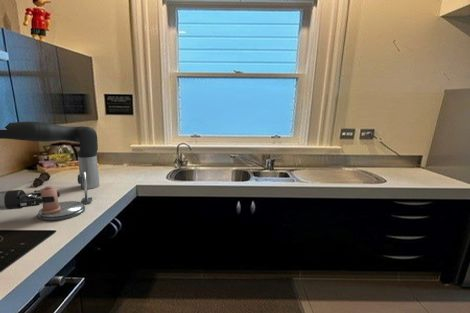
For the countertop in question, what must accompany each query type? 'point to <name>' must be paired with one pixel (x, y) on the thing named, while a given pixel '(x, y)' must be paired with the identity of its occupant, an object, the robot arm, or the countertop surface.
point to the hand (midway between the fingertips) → (56, 196)
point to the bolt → (41, 179)
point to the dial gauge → (83, 180)
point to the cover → (50, 206)
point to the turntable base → (61, 217)
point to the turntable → (65, 209)
